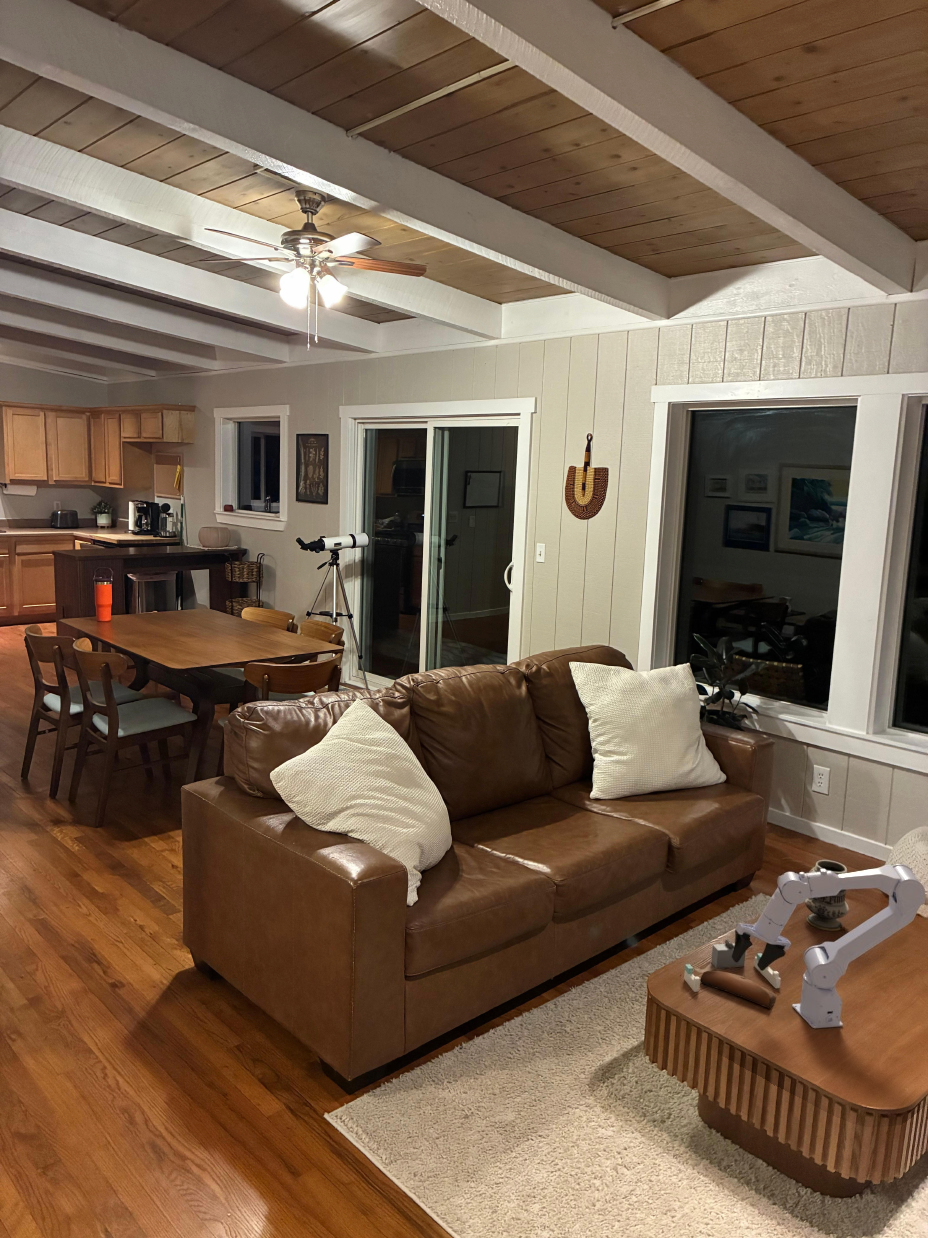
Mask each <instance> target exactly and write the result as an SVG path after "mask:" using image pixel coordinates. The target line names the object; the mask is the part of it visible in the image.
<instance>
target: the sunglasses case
mask: <svg viewBox="0 0 928 1238" xmlns="http://www.w3.org/2000/svg"><path fill="white" fill-rule="evenodd" d="M699 984H702V985H706V986H709V987H712V988H715V989H719V990H721V991H725V992H726V993H729V994H732V995H734V996H738V997H740V998H743V999H745V1000H746V1001H750V1002H753V1003H755V1004H758V1005H759V1006H763V1007H765V1008H767V1009H769V1010H771V1008H772V1007H773V1005H774V1003H775V1002H776V1001H777V998H778V995H777V994H775V993H774V992H772V991H771V990H769V989H767V988H765V987H763V986H761V985H759V984H758V983H757V982H755V981H753V980H751V979H749V978H746V977H745V976H741V975H739V974H737V973H736V974H734V973H732V972H726V971H721V970H706V971H704V972H702V974H701V976H700V983H699Z"/></svg>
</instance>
